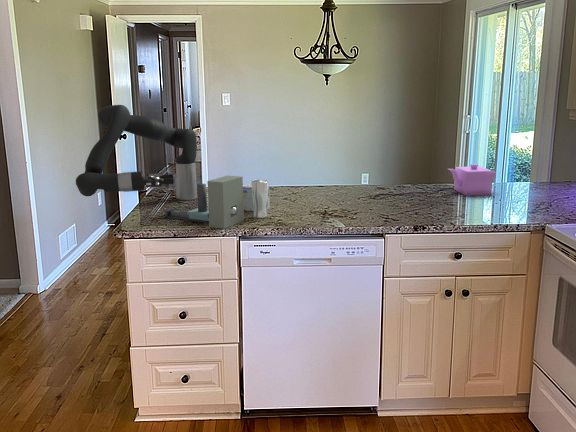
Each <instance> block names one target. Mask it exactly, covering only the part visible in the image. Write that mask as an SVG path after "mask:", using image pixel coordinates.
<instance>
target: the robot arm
mask: <svg viewBox="0 0 576 432" xmlns="http://www.w3.org/2000/svg"><path fill="white" fill-rule="evenodd" d="M97 117H98V121H99V122H100V124H101V125H102V126H103V127H105V128H106V131H105V132H104V134H103V135H102V136H101V138H100V139H99V140H98V141H97V142H96V143H95V144H94V145H93V147H92V148H91V150H90V152H89V155H88V157H87V159H86V161H85V164H84V167H85V168H84V169H85V170H84V172H82V173H80V174H78V175H77V177H76V178H75V185H76V187H77V189H78V192H79V193H80V194H81V196H84V197H92V196H94V195H95V194H96V193H97V191H98V190H103V191H104V192H106V193H116V192H117V193H119V192H122V193H123V192H126V193H127V192H141V191H142V192H143V191H144V190H145V186H146V188H152V187H153V188H155V187H156V188H158V187H163V186H164V185H165V186H166V185H174V184H175V186H174V187H175V189H174V190H175V198H176V199H177V200H182V201H191V200H196V199H198V196H197V184H198V183H197V170H196V169H197V168H196V167H197V166H196V160H197V159H196V158H197V153H198V152H197V149H198V147H197V144H198V143H197V141H198V140H197V135H196V132H195V131H194V130H193V129H192V128H191V129H190V128H175V127H170V126H167V125H165V124H164V123H163V122H162V121H161V120H159V119H156V118H153V117H150V116H145V115H137V114H136V115H135V114H131V112H130V110H129V109H128V107H127V106H126V105H124V104H114V105H113V104H112V105H107V106H104V107H102V108H101V109H99V111H98V115H97ZM124 132H126V133H129V134H133V135H136V136H138V137H141V138H144V139H147V140H151V141H155V142H162V143H165V144H168V145H169V146H172V147H174V148H176V149H182V153H181V154H180V155H177V156H176V157H175V172H176V178H175V179H174V174H173V173H169V174H164V173H150V174H149V173H147V174H146V175H145V176H144V172H143V171H126V172H125V171H124V172H120V173H108V174H107V173H104V172H103V171H104V169H105V167H106V165H107V162H108V159H109V157H110V155H111V153H112V151H113V150H114V148H115V146H116V144H117V142H118V141H119V139H120V138H121V136H122V134H123V133H124Z"/></svg>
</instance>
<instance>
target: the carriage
mask: <svg viewBox="0 0 576 432" xmlns="http://www.w3.org/2000/svg"><path fill="white" fill-rule="evenodd" d="M196 184H197V208H195V209H194V208H193V209H192V210H188V211H187V212H188V215H189V219H197V220H204V221H209V208H208V193H207V184H206V183H196Z"/></svg>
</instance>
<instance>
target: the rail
mask: <svg viewBox="0 0 576 432" xmlns="http://www.w3.org/2000/svg"><path fill="white" fill-rule="evenodd" d="M164 217H165V218H167V219H175V220H182V221H190V222H191V221H192V222H198V223H206V224H209V221H204V220H197V219H189V215H188V211H182V210H176V208H175V207H171V208H167V209H165V210H164Z"/></svg>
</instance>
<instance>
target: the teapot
mask: <svg viewBox="0 0 576 432" xmlns="http://www.w3.org/2000/svg"><path fill="white" fill-rule="evenodd" d="M447 170H448V171H450V172H451V174H452V178H453V182H454V183H453V190H454V191H456V192H458V193H460V194H461V195H464V196H491V195H492V194H493V193H492V192H493V180H494V178H496V175H497V172H496V171H494V170H492V169H488V168H486V167H483V166H479V164H477V163H471V164H470V166H456V167H455V169H454V168H447Z"/></svg>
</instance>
